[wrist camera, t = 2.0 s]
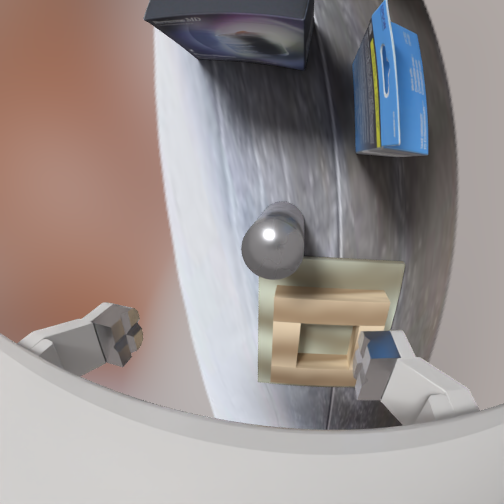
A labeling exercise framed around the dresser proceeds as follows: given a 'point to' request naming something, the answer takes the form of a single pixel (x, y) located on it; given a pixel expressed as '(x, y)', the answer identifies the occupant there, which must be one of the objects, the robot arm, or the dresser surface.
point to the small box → (238, 29)
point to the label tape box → (389, 91)
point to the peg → (275, 242)
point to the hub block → (323, 318)
